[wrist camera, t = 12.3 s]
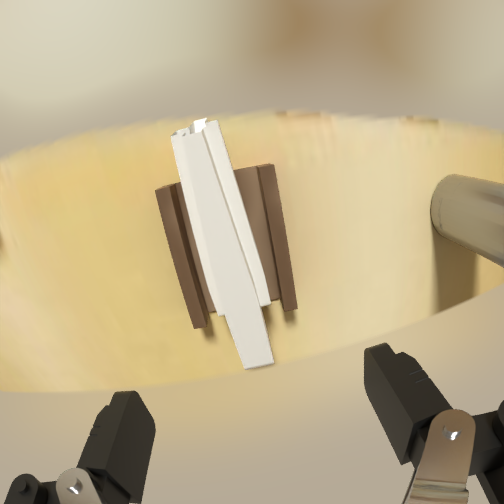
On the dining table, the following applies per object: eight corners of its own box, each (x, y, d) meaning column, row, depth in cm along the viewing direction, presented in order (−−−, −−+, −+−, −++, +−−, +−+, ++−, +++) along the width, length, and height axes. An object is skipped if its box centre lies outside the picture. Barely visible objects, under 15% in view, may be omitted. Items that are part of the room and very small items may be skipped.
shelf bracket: (225, 113, 31) (230, 123, 20) (267, 296, 43) (285, 364, 32) (175, 126, 31) (153, 144, 20) (229, 305, 43) (236, 375, 32)
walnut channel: (269, 163, 33) (274, 164, 29) (291, 293, 38) (297, 308, 34) (163, 186, 33) (154, 190, 29) (197, 312, 38) (194, 329, 34)
